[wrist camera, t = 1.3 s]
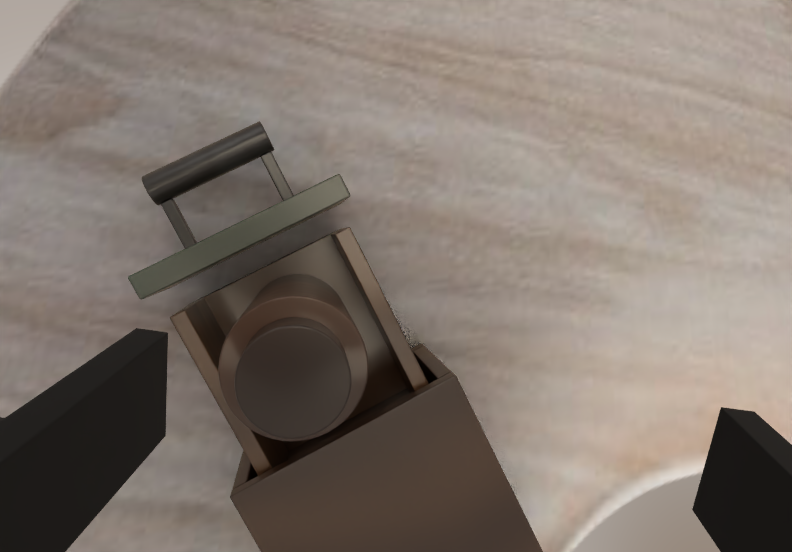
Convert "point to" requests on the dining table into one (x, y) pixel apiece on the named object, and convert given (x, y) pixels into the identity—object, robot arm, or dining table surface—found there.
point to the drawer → (323, 259)
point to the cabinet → (391, 483)
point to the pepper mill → (293, 361)
